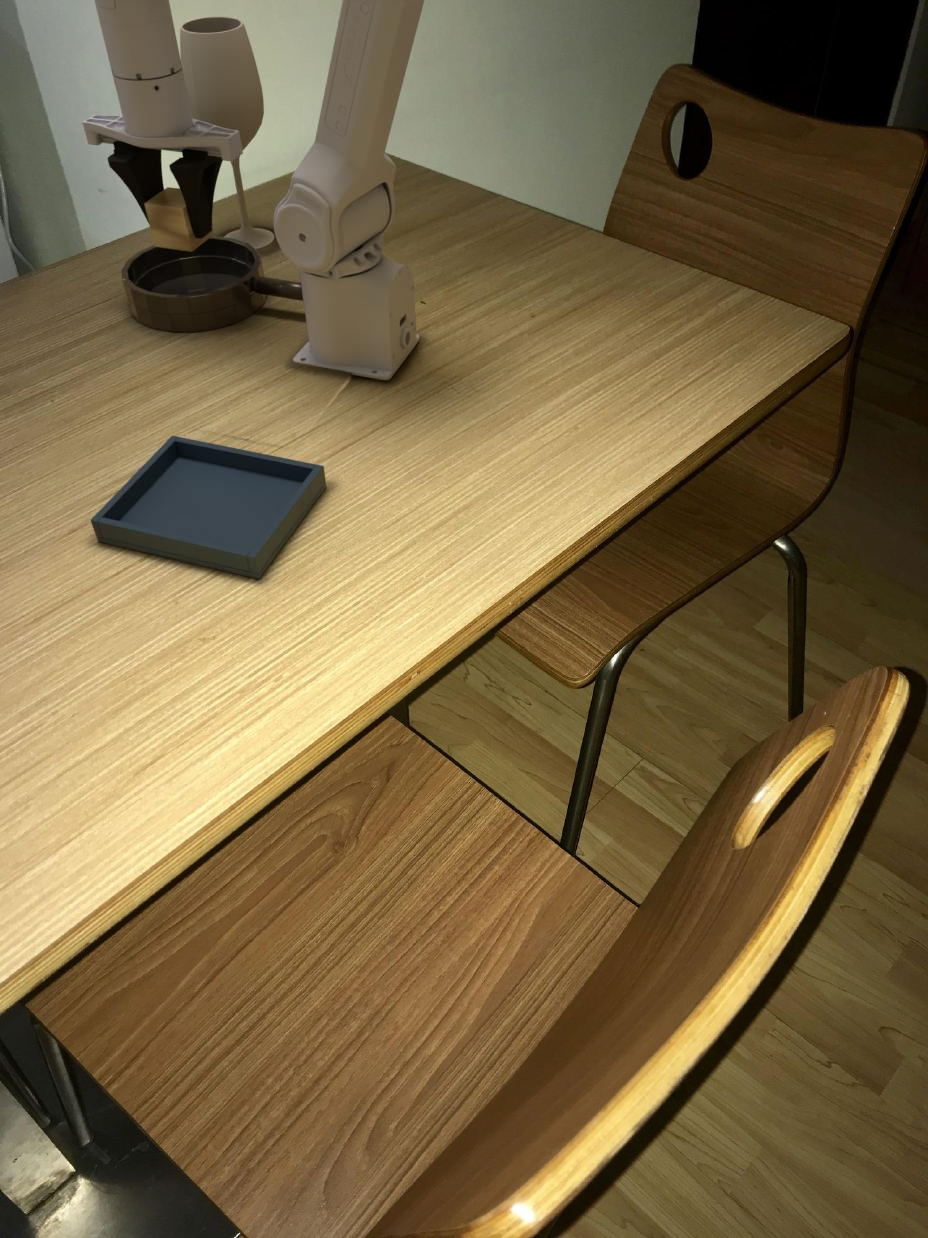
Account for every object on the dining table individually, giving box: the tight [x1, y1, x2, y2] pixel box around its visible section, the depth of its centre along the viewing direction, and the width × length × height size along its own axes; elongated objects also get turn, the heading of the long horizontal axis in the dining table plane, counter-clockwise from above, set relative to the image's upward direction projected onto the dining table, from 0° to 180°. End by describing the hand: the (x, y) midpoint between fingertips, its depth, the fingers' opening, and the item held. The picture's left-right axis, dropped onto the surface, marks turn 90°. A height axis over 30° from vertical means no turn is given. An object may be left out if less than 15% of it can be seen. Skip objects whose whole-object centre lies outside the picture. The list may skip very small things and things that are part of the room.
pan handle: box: [252, 276, 304, 302], centre depth 94 cm, size 8×2×2 cm, turn 71°
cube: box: [145, 186, 214, 252], centre depth 91 cm, size 4×4×4 cm
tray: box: [90, 435, 327, 580], centre depth 74 cm, size 13×11×2 cm
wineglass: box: [179, 16, 275, 250], centre depth 101 cm, size 8×8×21 cm
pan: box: [120, 235, 267, 333], centre depth 97 cm, size 13×13×4 cm
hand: (182, 230), depth 92 cm, fingers closed on cube, 4 cm apart
